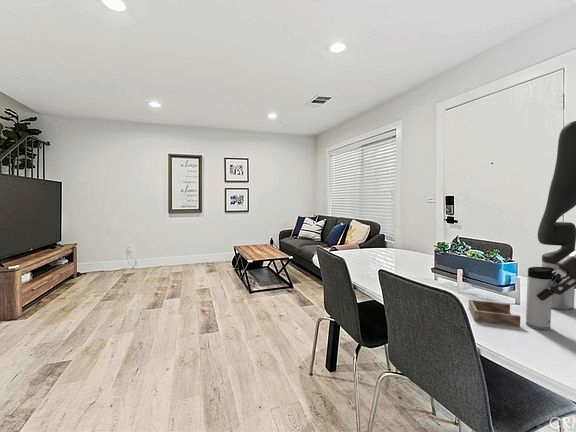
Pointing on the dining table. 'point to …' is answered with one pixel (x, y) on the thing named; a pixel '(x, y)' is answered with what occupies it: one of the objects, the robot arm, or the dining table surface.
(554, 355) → the dining table surface
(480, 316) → the brown wooden tray
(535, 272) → the travel mug
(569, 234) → the robot arm
